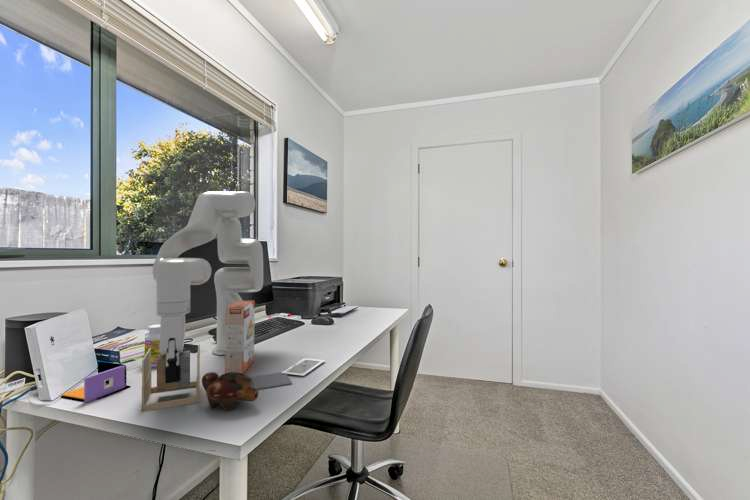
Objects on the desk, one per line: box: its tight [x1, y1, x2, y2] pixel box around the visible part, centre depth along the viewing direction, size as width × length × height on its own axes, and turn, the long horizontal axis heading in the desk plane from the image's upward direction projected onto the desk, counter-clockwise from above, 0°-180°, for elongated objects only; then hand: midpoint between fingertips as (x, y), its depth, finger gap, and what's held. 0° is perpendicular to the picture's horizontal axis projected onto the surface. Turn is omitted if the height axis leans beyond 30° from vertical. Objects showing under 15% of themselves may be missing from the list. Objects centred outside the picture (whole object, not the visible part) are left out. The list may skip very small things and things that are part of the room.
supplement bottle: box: [144, 323, 167, 368], centre depth 114 cm, size 7×7×13 cm
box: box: [156, 350, 191, 393], centre depth 88 cm, size 5×7×8 cm
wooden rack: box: [141, 342, 201, 412], centre depth 88 cm, size 12×12×12 cm
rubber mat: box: [250, 371, 293, 391], centre depth 100 cm, size 10×10×1 cm
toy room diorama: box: [60, 361, 132, 403], centre depth 91 cm, size 12×12×7 cm
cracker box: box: [224, 300, 256, 375], centre depth 111 cm, size 14×6×21 cm, turn 7°
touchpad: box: [280, 357, 326, 377], centre depth 111 cm, size 8×15×2 cm, turn 163°
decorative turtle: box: [201, 371, 260, 412], centre depth 83 cm, size 10×15×8 cm, turn 79°
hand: (174, 377), depth 89 cm, fingers closed on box, 5 cm apart
